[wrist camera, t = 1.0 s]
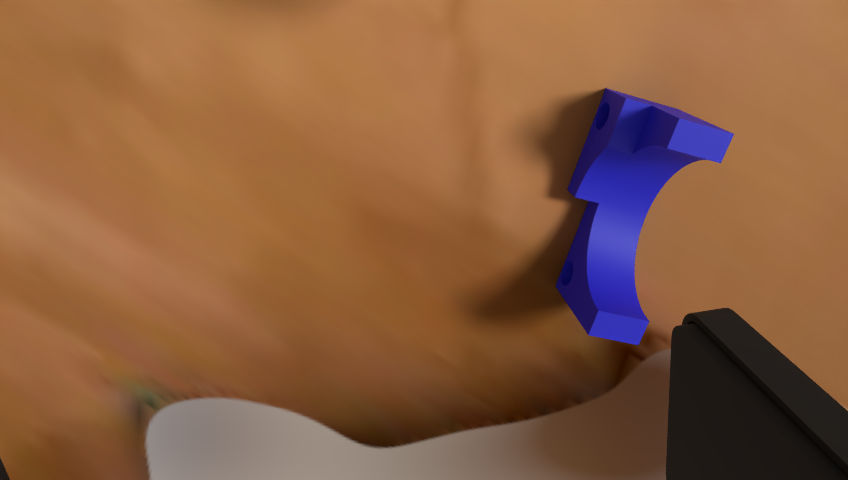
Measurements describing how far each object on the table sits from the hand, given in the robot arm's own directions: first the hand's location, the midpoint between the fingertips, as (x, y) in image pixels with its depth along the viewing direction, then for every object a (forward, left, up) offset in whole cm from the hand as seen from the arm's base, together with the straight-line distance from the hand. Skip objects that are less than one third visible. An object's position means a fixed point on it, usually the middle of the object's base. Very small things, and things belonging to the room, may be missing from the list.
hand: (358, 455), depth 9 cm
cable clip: (-9, +13, -29) cm, 33 cm away
